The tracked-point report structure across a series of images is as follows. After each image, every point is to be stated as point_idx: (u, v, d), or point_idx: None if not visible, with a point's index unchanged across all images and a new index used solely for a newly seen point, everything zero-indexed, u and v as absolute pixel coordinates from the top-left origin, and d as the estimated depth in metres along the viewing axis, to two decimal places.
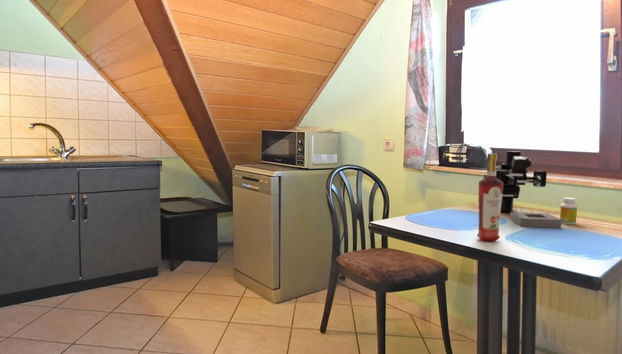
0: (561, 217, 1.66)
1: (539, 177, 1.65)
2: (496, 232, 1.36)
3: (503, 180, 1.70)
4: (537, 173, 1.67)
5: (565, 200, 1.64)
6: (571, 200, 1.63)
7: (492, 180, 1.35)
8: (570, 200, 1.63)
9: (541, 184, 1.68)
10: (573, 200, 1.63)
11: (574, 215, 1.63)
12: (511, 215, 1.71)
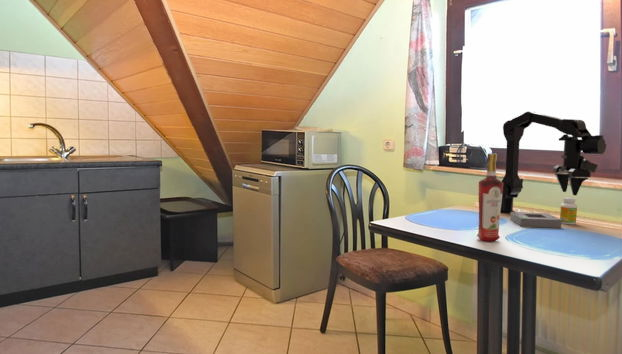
0: (561, 217, 1.66)
1: None
2: (496, 232, 1.36)
3: (576, 178, 1.58)
4: None
5: (565, 200, 1.64)
6: (571, 200, 1.63)
7: (492, 180, 1.35)
8: (570, 200, 1.63)
9: None
10: (573, 200, 1.63)
11: (574, 215, 1.63)
12: (511, 215, 1.71)
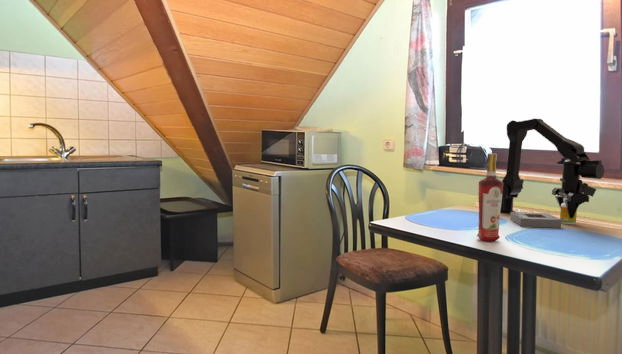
0: (561, 217, 1.66)
1: None
2: (496, 232, 1.36)
3: (572, 202, 1.60)
4: None
5: None
6: None
7: (492, 180, 1.35)
8: None
9: None
10: None
11: (574, 215, 1.63)
12: (511, 215, 1.71)
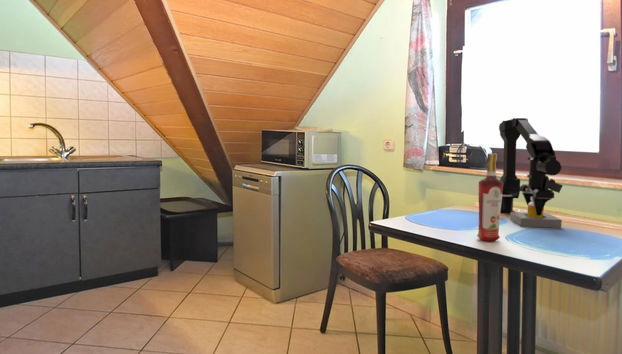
0: (528, 216, 1.65)
1: None
2: (496, 232, 1.36)
3: None
4: None
5: (532, 199, 1.64)
6: None
7: (492, 180, 1.35)
8: None
9: None
10: None
11: (541, 214, 1.62)
12: (511, 215, 1.71)
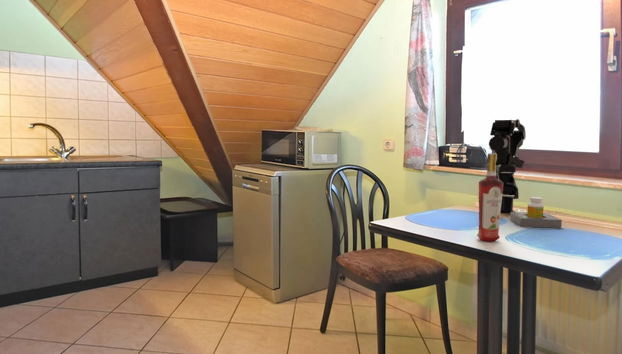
0: (528, 216, 1.65)
1: None
2: (496, 232, 1.36)
3: (503, 173, 1.70)
4: None
5: (532, 199, 1.63)
6: (537, 199, 1.62)
7: (492, 180, 1.35)
8: (536, 199, 1.62)
9: None
10: (539, 199, 1.62)
11: (540, 214, 1.62)
12: (511, 215, 1.71)
